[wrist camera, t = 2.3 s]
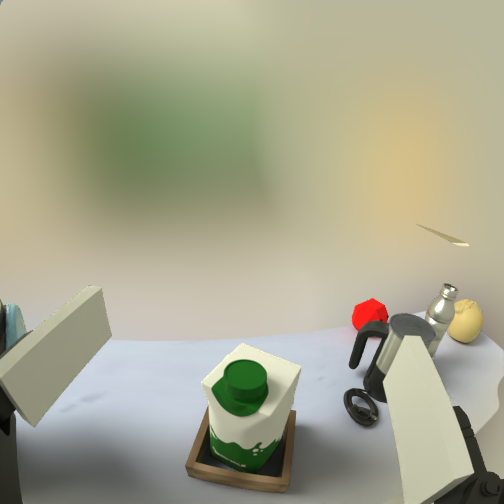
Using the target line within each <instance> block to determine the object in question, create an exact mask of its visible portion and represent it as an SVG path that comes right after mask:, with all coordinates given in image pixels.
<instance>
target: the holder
mask: <svg viewBox="0 0 504 504" xmlns="http://www.w3.org/2000/svg"><path fill="white" fill-rule="evenodd" d="M295 420H296V411H294V410H290V413H289V416H288V419H287V422H286V425H285V431H284V439H283V447H282V455H281V462H280V470H279V477H270V476H262V475H255V474H249V473H243V472H237V471H232V470H227V469H222V468H218V467H213V466H209V465H205V464H201V460H202V457H203V454H204V451H205V448H206V446H207V443H208V440H209V437H210V422H209V404H208V407H207V410H206V412H205V415H204V418H203V420H202V423H201V426H200V428H199V431H198V434H197V436H196V439H195V442H194V444H193V447H192V449H191V452H190V455H189V457H188V460H187V463H186V465H185V467H186V470H187V473H188V476H191V477H195V478H198V479H202V480H206V481H210V482H215V483H219V484H224V485H229V486H234V487H239V488H245V489H252V490H259V491H266V492H275V493H284V492H285V490H286V489H287V487H288V486H289V480H290V472H291V463H292V453H293V443H294V432H295Z"/></svg>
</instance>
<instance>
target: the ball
mask: <svg viewBox="0 0 504 504" xmlns="http://www.w3.org/2000/svg"><path fill="white" fill-rule="evenodd" d="M388 317H389V316H388V313H387V310H386V307H385V305H383V304H382V303H380V302H378V301H377V300H375V299H373V298H372V299H370V300H367V301H365V302H363V303H361V304H358V305H356V306H355V309H354V312H353V315H352V323H353V325H354V327H355V328H356V329H357V330H360V329H361V327H362V326H363V325H364V324H366V323H367V322H370V321H374V320H378V321H383V322H386V323H387V320H388Z"/></svg>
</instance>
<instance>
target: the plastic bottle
mask: <svg viewBox="0 0 504 504" xmlns="http://www.w3.org/2000/svg"><path fill="white" fill-rule="evenodd" d="M457 293H458V289H457V288H456V287H455V286H453V285H451V284H448V283H444V284H443V286H442V289H441V291H440V295H439V296H438V297H436V298H435V299H434V300H432V301H431V303H430V304H429V305H428V309H427V312H426V316H425V320H426V321H427V322H428V323H429V324H431V325H432V327H433V328H434V330H435V332H436V337H435V339H434V341H433V342H431V344H430V346H429V348H428V350H427V351H428V353H429V355H430V357H431V359H432V361H433V359H434V356H435V353H436V350H437V348H438V346H439V343H440V341H441V339H442V338H443V336H444V334H445V332H446V331H447V329H448V327H449V326H450V324H451V322H452V321H453V319H454V316H455V306H454V300H455V299H456V296H457Z"/></svg>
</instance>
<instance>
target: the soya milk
mask: <svg viewBox="0 0 504 504" xmlns="http://www.w3.org/2000/svg"><path fill="white" fill-rule="evenodd" d="M301 368H302V366H300V365H297V364H294V363H292V362H289V361H286V360H284V359H281V358H279V357H276V356H274V355H271V354H269V353H266V352H264V351H261V350H259V349H256V348H254V347H251V346H249V345H247V344H244V343H241V344H240V345H239V346H238V347H237V348H236V349H235V350H234V351H233V352H232V353H231V354H228V355H227V356H226V357H225V358H224V359H223V361H222V362H221V363H220V364H219V365H218V366H217V367H216V368H215V369H214V370H213V371H212V372H211V373H210V374H209V375H208V376H207V377H206V378H205V379H204V380H203V381H202V382H201V384H202V387H203V390H204V392H205V395H206V397H207V400H208V404H209V422H210V456H211V457H213V458H214V459H216V460H218V461H220V462H222V463H224V464H225V465H227V466H229V467H231V468H233V469H235V470H237V471H239V472H243V473H249V474H256V473H257V472H258V471H259V470H260V468H261V467H262V466H263V465H264V463H265V462H266V461H267V459H268V458H269V457H270V455H271V454H272V453H273V451H274V450H275V448H276V447H277V445H278V443H279V441H280V439H281V437H282V434H283V431H284V428H285V425H286V422H287V419H288V416H289V413H290V409H291V406H292V404H293V401H294V394H295V390H296V386H297V383H298V379H299V375H300V372H301Z"/></svg>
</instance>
